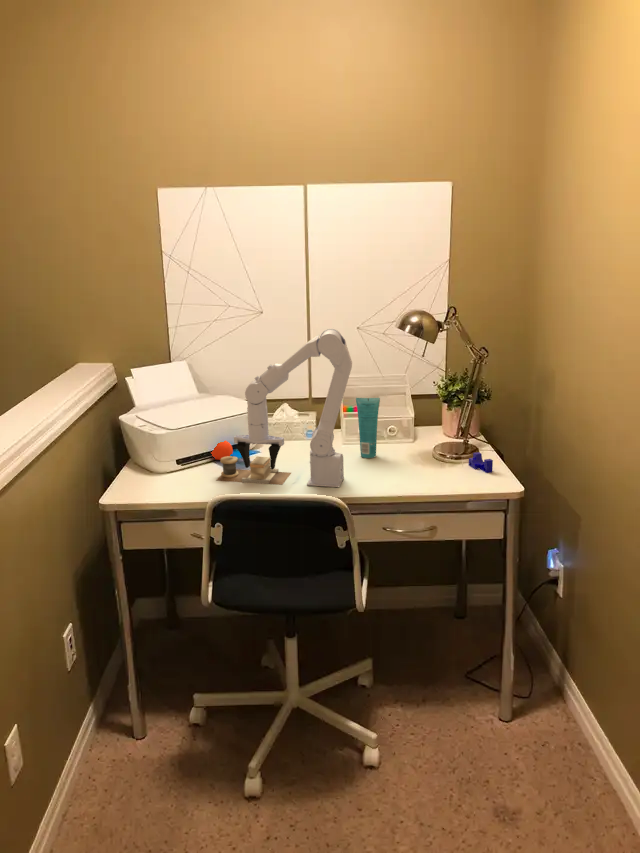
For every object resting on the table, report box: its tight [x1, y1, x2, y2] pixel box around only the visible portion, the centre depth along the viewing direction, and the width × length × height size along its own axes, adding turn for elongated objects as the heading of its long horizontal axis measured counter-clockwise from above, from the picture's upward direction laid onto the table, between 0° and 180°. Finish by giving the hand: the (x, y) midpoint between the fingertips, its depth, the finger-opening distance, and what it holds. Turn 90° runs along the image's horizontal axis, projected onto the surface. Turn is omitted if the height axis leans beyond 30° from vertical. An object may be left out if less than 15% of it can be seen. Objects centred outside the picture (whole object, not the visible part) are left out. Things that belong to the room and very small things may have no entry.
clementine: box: [210, 440, 234, 461], centre depth 232 cm, size 8×7×7 cm
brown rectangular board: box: [215, 467, 292, 486], centre depth 215 cm, size 20×10×2 cm, turn 77°
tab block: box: [249, 456, 271, 479], centre depth 214 cm, size 4×6×5 cm
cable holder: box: [468, 451, 494, 474], centre depth 221 cm, size 8×4×4 cm, turn 18°
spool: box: [219, 455, 239, 478], centre depth 216 cm, size 5×5×5 cm
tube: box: [355, 397, 381, 459], centre depth 232 cm, size 7×5×19 cm, turn 91°
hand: (260, 467), depth 214 cm, fingers open, 7 cm apart
